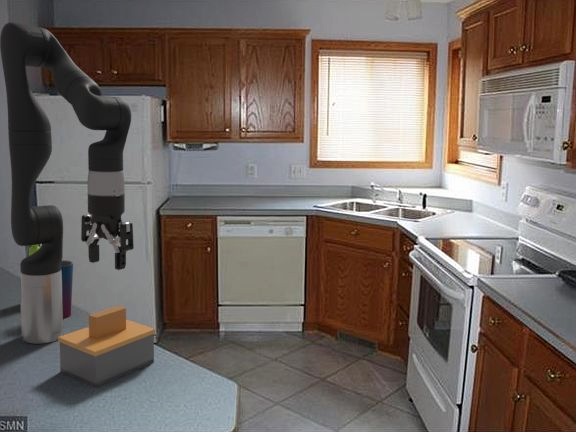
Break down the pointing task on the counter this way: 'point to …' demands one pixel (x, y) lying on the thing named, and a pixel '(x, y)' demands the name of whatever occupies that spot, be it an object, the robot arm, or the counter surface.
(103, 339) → the lid
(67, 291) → the cup
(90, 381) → the tub
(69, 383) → the counter surface
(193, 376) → the counter surface
